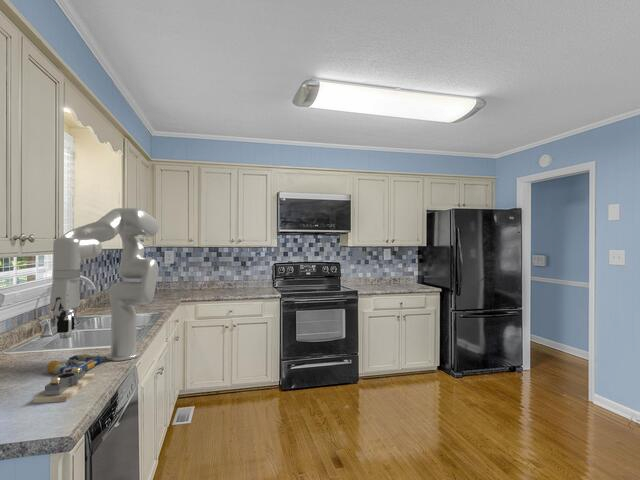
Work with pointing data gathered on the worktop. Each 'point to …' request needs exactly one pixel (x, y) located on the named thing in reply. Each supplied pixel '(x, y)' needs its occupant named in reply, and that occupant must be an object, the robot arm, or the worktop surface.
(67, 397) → the ring socket base plate
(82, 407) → the worktop surface
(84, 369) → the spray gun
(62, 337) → the light bulb
